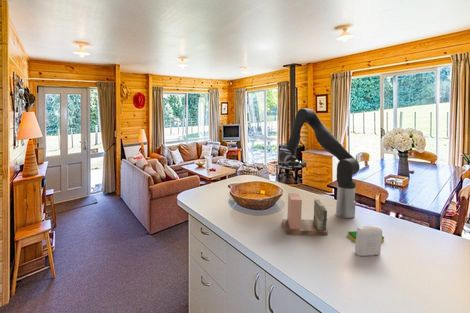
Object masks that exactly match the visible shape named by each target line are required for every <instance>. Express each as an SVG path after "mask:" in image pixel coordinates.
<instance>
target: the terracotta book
mask: <svg viewBox="0 0 470 313" xmlns="http://www.w3.org/2000/svg"><path fill="white" fill-rule="evenodd" d="M287 197H288V198H287V219H288V223H289V226H290V229H301V219H302V208H303V207H302V205H303V203H302V201H303V199H302V198H301V196H300V194H299V193H298V192H289V193H288V194H287Z"/></svg>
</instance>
